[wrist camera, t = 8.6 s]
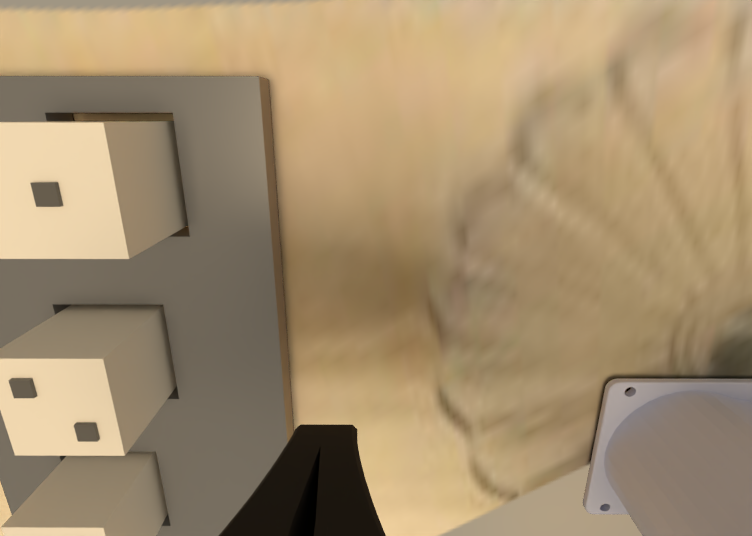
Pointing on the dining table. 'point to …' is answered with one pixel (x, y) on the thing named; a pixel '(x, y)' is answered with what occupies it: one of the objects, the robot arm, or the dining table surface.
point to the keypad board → (180, 290)
